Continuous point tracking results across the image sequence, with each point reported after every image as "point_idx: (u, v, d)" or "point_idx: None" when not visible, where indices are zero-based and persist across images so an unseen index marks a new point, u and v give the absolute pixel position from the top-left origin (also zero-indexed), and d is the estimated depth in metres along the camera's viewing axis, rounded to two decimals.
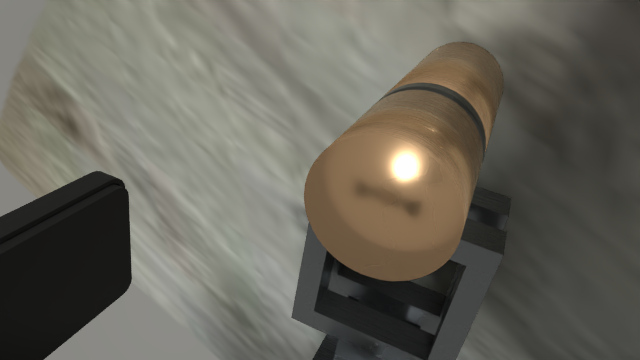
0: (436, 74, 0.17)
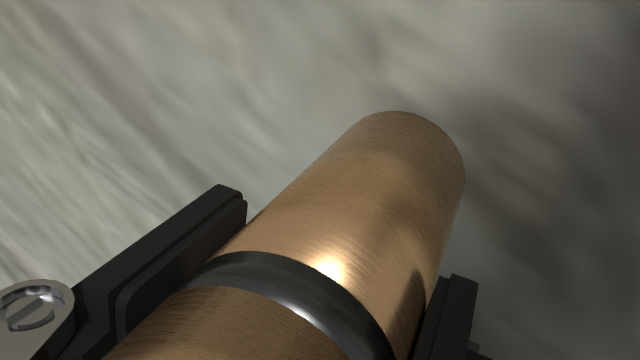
0: (312, 217, 0.09)
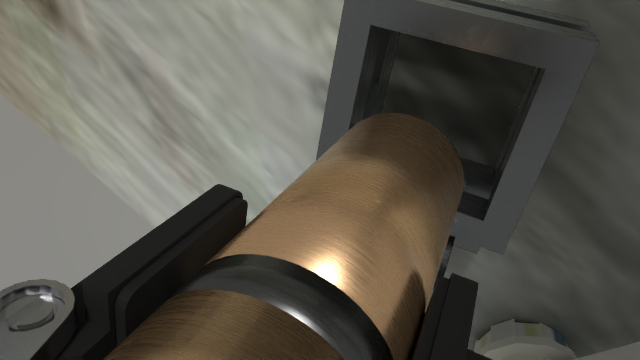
0: (310, 220, 0.09)
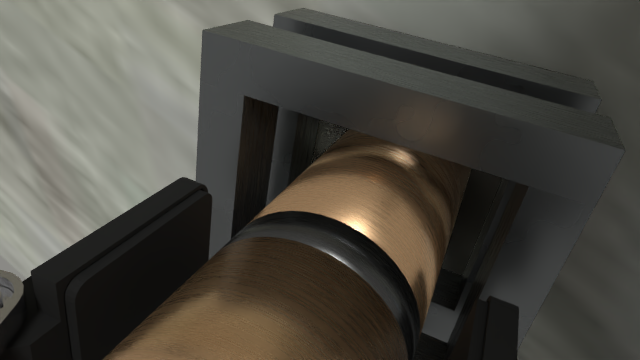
0: (340, 185, 0.10)
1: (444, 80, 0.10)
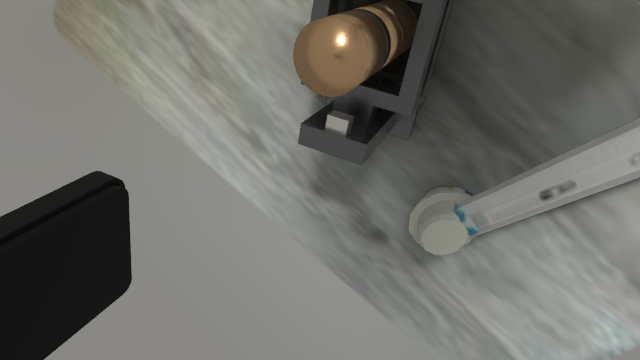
0: (366, 7, 0.31)
1: None
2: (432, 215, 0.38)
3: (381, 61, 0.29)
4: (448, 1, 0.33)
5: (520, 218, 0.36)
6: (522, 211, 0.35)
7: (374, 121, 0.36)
